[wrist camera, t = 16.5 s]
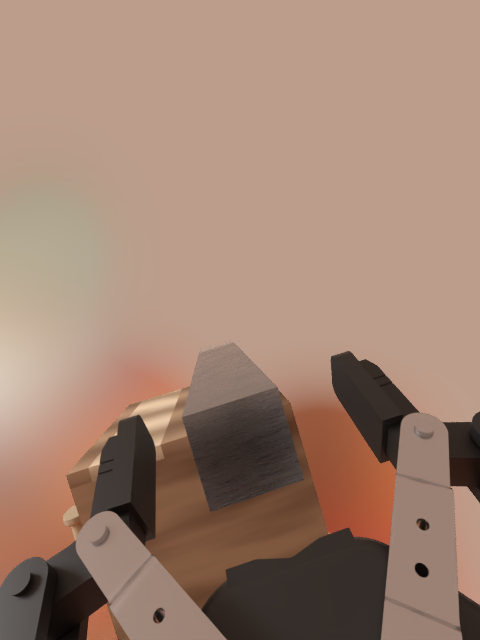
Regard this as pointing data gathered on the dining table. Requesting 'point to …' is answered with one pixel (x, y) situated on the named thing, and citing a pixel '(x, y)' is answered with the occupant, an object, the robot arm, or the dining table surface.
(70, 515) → the handle
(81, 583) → the robot arm
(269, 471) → the dark gray rectangular block
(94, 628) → the dining table surface
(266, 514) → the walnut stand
